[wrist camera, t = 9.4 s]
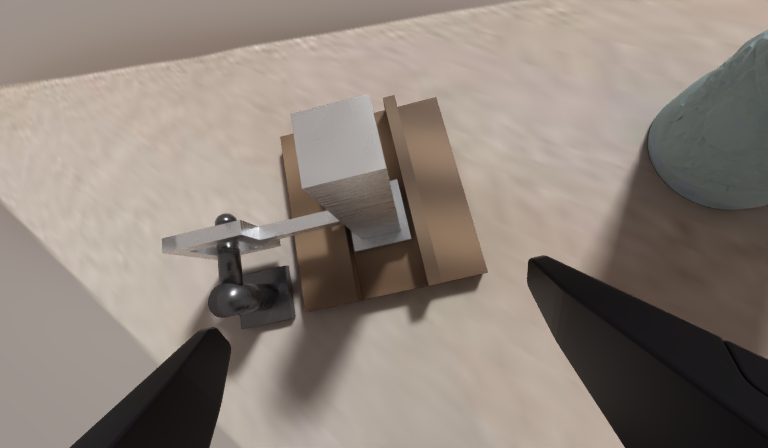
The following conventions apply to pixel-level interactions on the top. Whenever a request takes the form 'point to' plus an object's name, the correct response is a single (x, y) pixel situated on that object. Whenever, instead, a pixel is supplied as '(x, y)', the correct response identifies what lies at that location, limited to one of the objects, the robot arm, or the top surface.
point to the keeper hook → (249, 288)
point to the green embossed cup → (718, 134)
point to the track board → (422, 208)
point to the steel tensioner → (324, 187)
